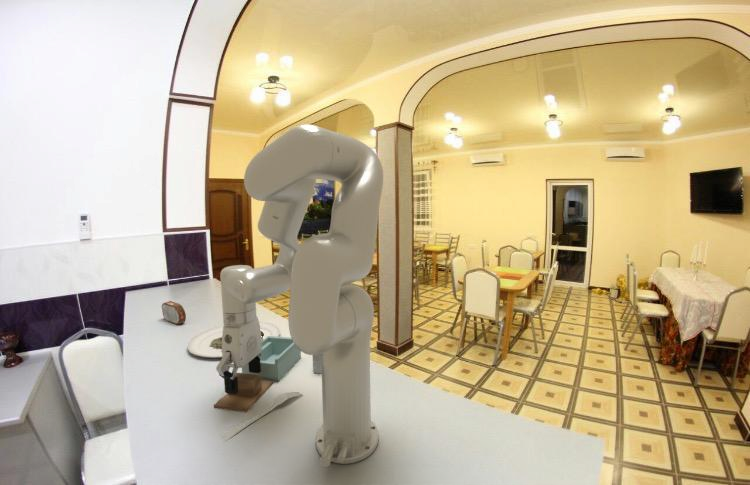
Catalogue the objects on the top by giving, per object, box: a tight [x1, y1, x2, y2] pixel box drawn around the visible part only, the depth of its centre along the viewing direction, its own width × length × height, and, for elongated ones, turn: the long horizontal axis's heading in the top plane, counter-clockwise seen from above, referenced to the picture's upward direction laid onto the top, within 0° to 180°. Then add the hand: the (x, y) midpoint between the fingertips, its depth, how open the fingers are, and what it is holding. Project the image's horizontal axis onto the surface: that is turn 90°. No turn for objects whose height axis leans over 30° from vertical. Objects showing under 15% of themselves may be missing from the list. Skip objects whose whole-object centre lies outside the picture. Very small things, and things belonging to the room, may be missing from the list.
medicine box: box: [311, 354, 322, 374], centre depth 92 cm, size 8×4×9 cm, turn 168°
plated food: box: [187, 321, 281, 359], centre depth 112 cm, size 30×30×3 cm
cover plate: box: [213, 372, 274, 413], centre depth 79 cm, size 12×9×5 cm
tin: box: [161, 300, 187, 325], centre depth 131 cm, size 15×3×8 cm, turn 58°
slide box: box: [241, 336, 302, 383], centre depth 92 cm, size 14×11×6 cm
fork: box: [219, 391, 302, 442], centre depth 72 cm, size 3×21×3 cm, turn 141°
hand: (244, 381), depth 79 cm, fingers open, 9 cm apart
